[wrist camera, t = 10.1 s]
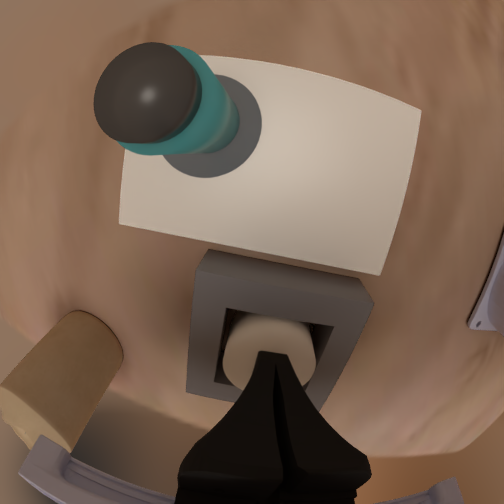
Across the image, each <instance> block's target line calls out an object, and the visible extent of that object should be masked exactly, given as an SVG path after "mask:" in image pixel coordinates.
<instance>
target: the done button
mask: <svg viewBox="0 0 504 504" xmlns="http://www.w3.org/2000/svg"><path fill="white" fill-rule="evenodd" d="M261 350H262V351H268V352H274V353H281V354H287V355H288V357H289V359H290V362H291V364H292V366H293V369H294V371H295V373H296V375H297V377H298V379H299V381H300V383H301V385H302V386H303V385H305V384H306V383H307V382H308V381H309V380H310V378H311V377H312V375H313V373H314V371H315V367H316V359H315V354H314V349H313V343H312V338H311V333H310V328H309V323H308V322H302V321H296V320H290V319H284V318H278V317H273V316H267V315H262V314H256V313H251V312H246V311H241V310H238V311H237V312H236V313H235V315H234V316H233V319H232V321H231V325H230V330H229V335H228V339H227V344H226V348H225V353H224V357H223V369H224V372H225V374H226V376H227V378H228V379H229V380H230V382H231V383H232V384H234V385H235V386H236V387H238V388H239V389H241V390H244V388H245V387H246V385H247V383H248V381H249V379H250V377H251V375H252V372H253V369H254V365H255V361H256V358H257V354H258V352H259V351H261Z"/></svg>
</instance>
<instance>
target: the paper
mask: <svg viewBox="0 0 504 504" xmlns="http://www.w3.org/2000/svg"><path fill="white" fill-rule="evenodd" d="M199 56H200V57H201V58H202V59H203V60H204V61H205V62H206V63H207V65H208V66H209V68H210V69H211V70H212V72H213V73H214V75H215V76H216V77H217V79H218V80H219V82H220V83H221V84H222V86H223V87H224V89H225V90H226V92H227V93H228V94H229V96H230V97H231V99H232V100H233V102H234V103H235V105H236V107H237V109H238V112H239V116H240V124H239V129H238V132H237V134H236V136H235V137H234V139H233V140H232V141H231V142H230V143H229V144H228V145H227V146H226V147H225V148H223V149H221V150H219V151H217V152H213V153H198V154H170V155H152V156H149V155H140V154H136V153H134V152H131V151H129V150H127V149H125V155H124V164H123V173H122V183H121V196H120V211H119V224H122V225H127V226H132V227H137V228H142V229H147V230H152V231H157V232H162V233H167V234H172V235H177V236H182V237H187V238H193V239H198V240H203V241H208V242H213V243H218V244H223V245H228V246H233V247H238V248H243V249H248V250H253V251H258V252H263V253H268V254H273V255H278V256H283V257H288V258H293V259H298V260H303V261H308V262H313V263H318V264H323V265H328V266H333V267H338V268H343V269H348V270H353V271H358V272H363V273H368V274H373V275H378V276H380V274H381V271H382V268H383V265H384V263H385V260H386V257H387V254H388V251H389V248H390V245H391V242H392V239H393V235H394V232H395V229H396V226H397V222H398V219H399V215H400V212H401V208H402V205H403V201H404V197H405V193H406V189H407V185H408V181H409V176H410V172H411V167H412V163H413V158H414V153H415V148H416V142H417V136H418V130H419V124H420V117H421V110H419V109H417V108H415V107H413V106H411V105H408V104H406V103H404V102H401V101H399V100H397V99H394V98H392V97H389V96H387V95H384V94H382V93H379V92H377V91H374V90H371V89H368V88H366V87H363V86H360V85H357V84H354V83H351V82H347V81H344V80H341V79H338V78H334V77H331V76H327V75H323V74H320V73H316V72H312V71H308V70H303V69H299V68H294V67H290V66H285V65H279V64H274V63H268V62H262V61H255V60H248V59H240V58H231V57H220V56H206V55H199Z"/></svg>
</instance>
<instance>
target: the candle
mask: <svg viewBox="0 0 504 504" xmlns="http://www.w3.org/2000/svg"><path fill="white" fill-rule="evenodd" d="M122 359H123V353H122V349H121V346H120V344H119V342H118V340H117V338H116V337H115V335H114V334H113V333H112V331H111V330H110V329H109V328H108V327H107V326H106V325H105V324H104V323H103V322H102V321H100V320H99V319H97V318H96V317H94V316H93V315H91V314H88V313H86V312H82V311H73V312H71V313H69V314H67V315H66V316H65V317H64V318H63V319H61V320H60V321H59V322H58V323H57V324H56V325H55V326H54V327H53V328H52V329H51V330H50V331H49V332H48V333H47V334H46V335H45V336H44V337H43V338H42V339H41V340H40V341H39V342H38V343H37V345H36V346H35V347H34V348H33V349H32V350H31V351H30V352H29V353H28V354H27V355H26V356H25V357H24V358H23V359H22V360H21V362H20V363H19V364H18V365H17V366H16V367H15V368H14V370H13V371H12V372H11V373H10V374H9V375H8V376H7V377H6V378H5V380H4V381H3V382H2V383H1V384H0V408H1V412H2V419H3V421H5V422H6V423H7V424H9V425H10V426H12V428H13V429H14V431H15V433H16V434H17V435H18V436H19V437H20V438H21V439H22V440H23V441H24V442H25V443H26V445H27V446H28V448H29V449H30V450H31V449H32V447H33V446H34V444H35V442H36V441H37V439H38V437H39V436H40V435H44V436H45V437H47V438H49V439H50V440H52V441H54V442H55V443H57V444H59V445H60V446H62V447H63V448H65V449H66V450H67V451H68V452H69V453H71V452H72V450H73V448H74V446H75V444H76V442H77V440H78V439H79V437H80V435H81V433H82V431H83V430H84V427H85V426H86V424H87V422H88V421H89V419H90V417H91V415H92V413H93V412H94V410H95V408H96V406H97V405H98V403H99V401H100V400H101V398H102V396H103V394H104V393H105V391H106V389H107V388H108V386H109V384H110V383H111V381H112V379H113V378H114V376H115V374H116V373H117V371H118V369H119V367H120V365H121V363H122Z"/></svg>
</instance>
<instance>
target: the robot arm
mask: <svg viewBox="0 0 504 504" xmlns="http://www.w3.org/2000/svg"><path fill="white" fill-rule="evenodd" d="M468 327H469V328H470V329H473V330H488V331H499V332H500V333H501V335H502V336H503V337H504V234H503V237H502V241H501V244H500V247H499V250H498V253H497V256H496V259H495V261H494V264H493V267H492V269H491V272H490V275H489V277H488V279H487V282H486V284H485V287H484V289H483V291H482V294H481V296H480V298H479V300H478V302H477V304H476V307H475V309H474V311H473V313H472V315H471V317H470V319H469V321H468ZM18 473H19V475H20V476H22V477H23V478H24V479H25V480H26V481H27V482H29V483H30V484H31V485H32V486H34V487H35V488H36V489H37V490H39V491H40V492H41V493H43V494H44V495H46V496H47V497H49V498H51V499H52V500H54V501H55V502H57V503H59V504H355V502H354V498H356V497H357V492H356V489H358V488H359V487H360V486H362V485H363V484H364V483H366V482H367V481H368V480H369V479H370V478H371V475H372V473H371V469H370V464H369V462H368V459H367V456H366V455H365V454H363V453H362V452H360V451H359V450H358V449H356V448H355V447H353V446H352V445H351V444H349V443H348V442H347V441H346V440H345V439H344V438H342V437H341V436H340V435H339V434H338V433H337V432H336V431H335V430H334V429H333V428H332V427H331V426H330V425H329V424H328V423H327V421H326V420H325V419H324V418H323V417H322V415H321V414H320V413H319V412H318V410H317V409H316V408H315V406H314V405H313V403H312V402H311V400H310V399H309V397H308V395H307V394H306V392H305V390H304V388H303V387H302V385H301V383H300V381H299V379H298V377H297V375H296V373H295V371H294V369H293V366H292V364H291V362H290V359H289V357H288V355H287V354H281V353H274V352H268V351H262V350H261V351H259V352H258V354H257V358H256V361H255V365H254V369H253V372H252V375H251V377H250V379H249V381H248V383H247V385H246V387H245V388H244V390H243V392H242V393H241V395H240V396H239V398H238V399H237V401H236V402H235V404H234V405H233V406H232V408H231V409H230V410H229V411H228V412H227V414H226V415H225V416H224V417H223V418H222V419H221V420H220V421H219V422H218V423H217V424H216V425H215V426H214V427H213V428H212V429H211V430H210V431H209V432H208V433H207V434H206V435H205V436H203V437H202V438H201V439H200V440H199V441H197V442H196V443H195V445H194V446H193V447H192V449H191V450H190V451H189V453H188V454H187V455H186V457H185V458H184V459H183V461H182V463H181V465H180V468H179V473H178V490H177V494H176V497H173V496H169V495H166V494H162V493H159V492H155V491H152V490H149V489H146V488H142V487H140V486H137V485H134V484H131V483H128V482H126V481H123V480H121V479H118V478H116V477H113V476H111V475H108V474H106V473H104V472H101V471H99V470H97V469H95V468H93V467H91V466H88V465H86V464H84V463H82V462H80V461H78V460H76V459H75V458H73V457H71V456H70V454H69V452H68V451H67V450H66V449H65V448H63V447H62V446H60V445H59V444H57V443H55V442H54V441H52V440H50V439H49V438H47V437H45V436H44V435H40V436H39V437H38V439H37V441H36V442H35V444H34V446H33V447H32V449H31V451H30V452H29V454H28V456H27V457H26V459H25V461H24V463H23V464H22V466H21V468H20V470H19V471H18ZM375 504H464V501H463V498H462V495H461V492H460V489H459V486H458V483H457V480H456V478H455V477H452V478H449V479H446V480H444V481H442V482H439V483H437V484H435V485H434V486H432V487H431V488H430V489H429V490H426V491H423V492H420V493H416V494H413V495H409V496H406V497H402V498H398V499H394V500H389V501H385V502H380V503H375Z"/></svg>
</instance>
